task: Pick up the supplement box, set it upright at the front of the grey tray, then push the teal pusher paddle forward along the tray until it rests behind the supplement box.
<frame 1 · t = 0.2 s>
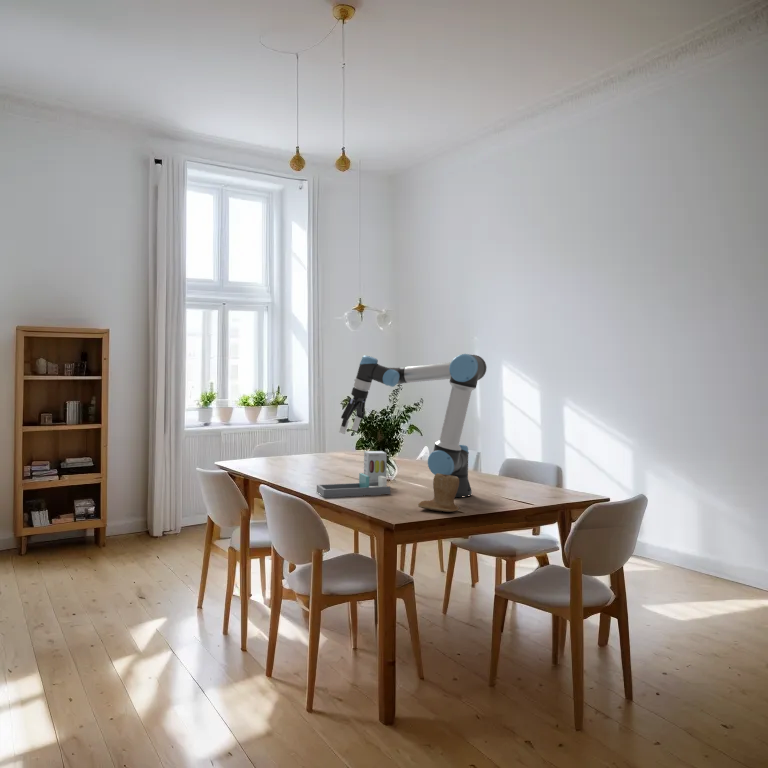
hand: (348, 431, 319), 28 cm above the table, tool tilted 20°, fingers open, 13 cm apart
pusher: (373, 482, 314), point 5 cm above the table, slide at 0.0 cm
grey tray: (351, 493, 310), on the table
supplement box: (374, 486, 331), on the table
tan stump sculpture: (440, 511, 275), on the table
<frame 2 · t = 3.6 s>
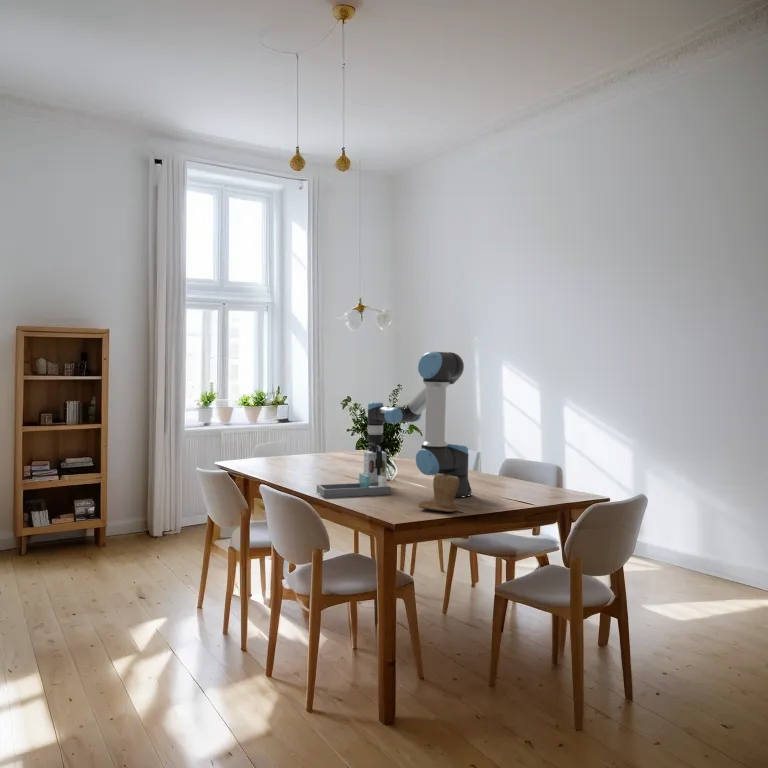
hand: (374, 479, 331), 3 cm above the table, tool pointing down, fingers closed on supplement box, 9 cm apart
supplement box: (374, 486, 331), on the table, touching gripper
everything else where it was.
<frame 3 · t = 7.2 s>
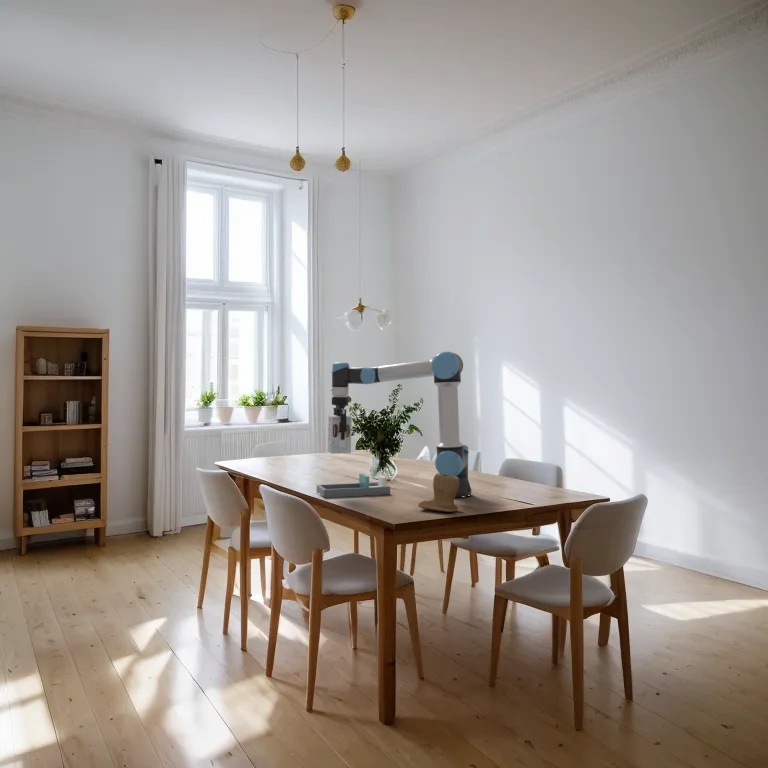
hand: (339, 445, 310), 22 cm above the table, tool pointing down, fingers closed on supplement box, 9 cm apart
supplement box: (339, 452, 310), point 19 cm above the table, touching gripper
everything else where it was.
when the fingers open (6 cm above the table, at t = 10.9 s): supplement box drops 2 cm, resting on grey tray.
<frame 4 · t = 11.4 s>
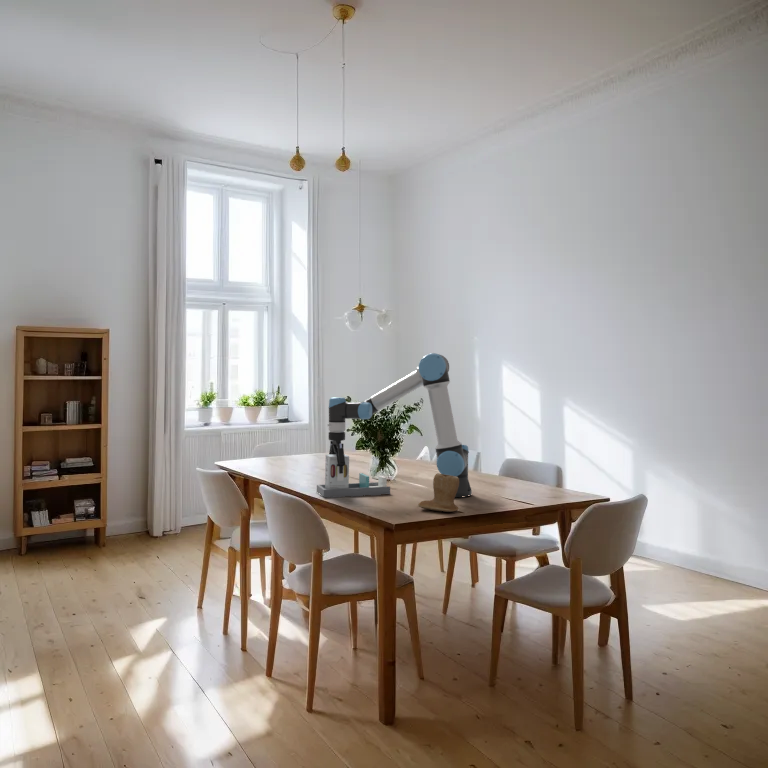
hand: (336, 478, 308), 7 cm above the table, tool pointing down, fingers open, 13 cm apart
supplement box: (336, 492, 308), point 1 cm above the table, touching grey tray
everything else where it was.
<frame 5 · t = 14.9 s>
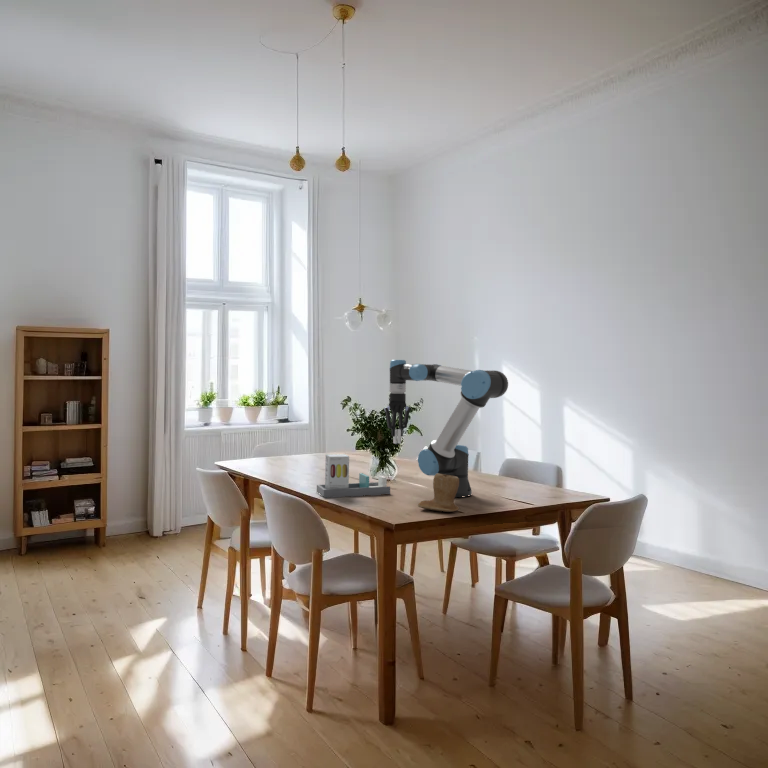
hand: (397, 443, 317), 22 cm above the table, tool pointing down, fingers closed
nothing on the table moved.
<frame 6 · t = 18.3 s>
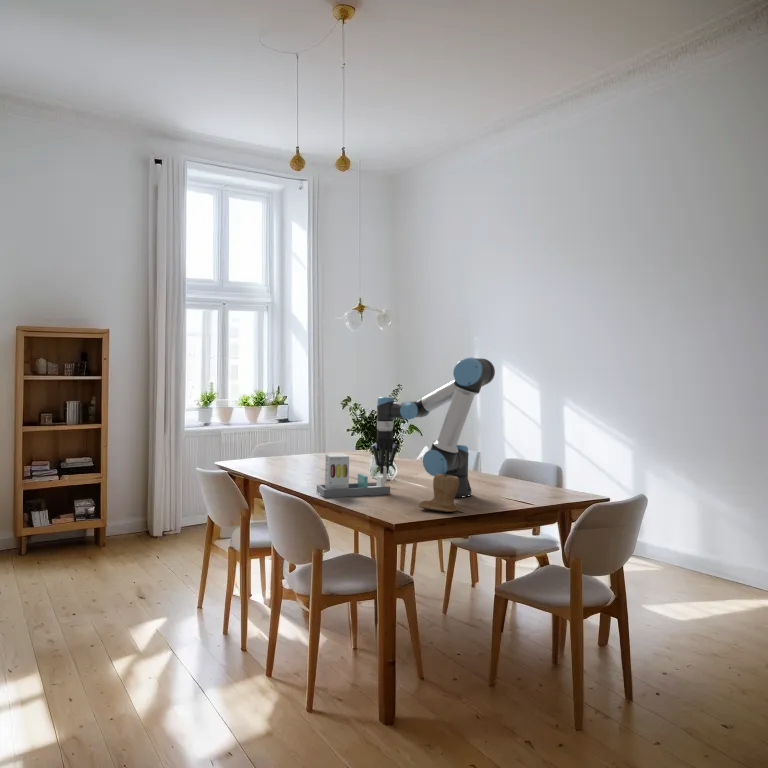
hand: (384, 480, 316), 5 cm above the table, tool pointing down, fingers closed
pusher: (371, 482, 314), point 5 cm above the table, slide at 0.8 cm, touching gripper
everything else where it was.
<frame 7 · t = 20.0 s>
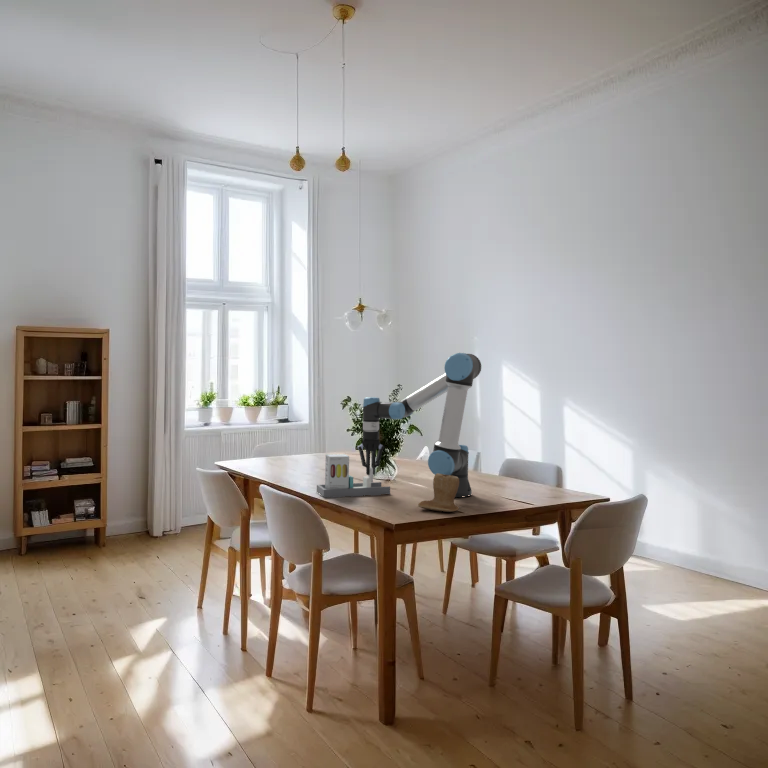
hand: (370, 481, 313), 5 cm above the table, tool pointing down, fingers closed
pusher: (357, 482, 311), point 5 cm above the table, slide at 7.5 cm, touching gripper
everything else where it was.
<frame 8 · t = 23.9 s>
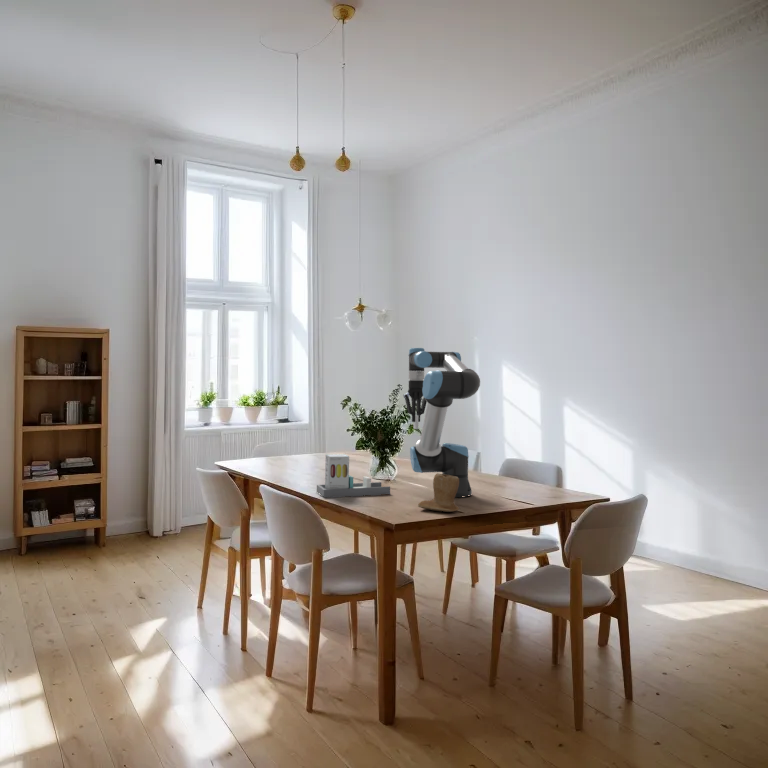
hand: (415, 428, 329), 28 cm above the table, tool pointing down, fingers closed
pusher: (357, 482, 311), point 5 cm above the table, slide at 7.5 cm
everything else where it was.
at the end: supplement box inside the target area (0.5 cm from its centre), point 0.8 cm above the table; supplement box tilted 0°; pusher slide at 7.5 cm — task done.
